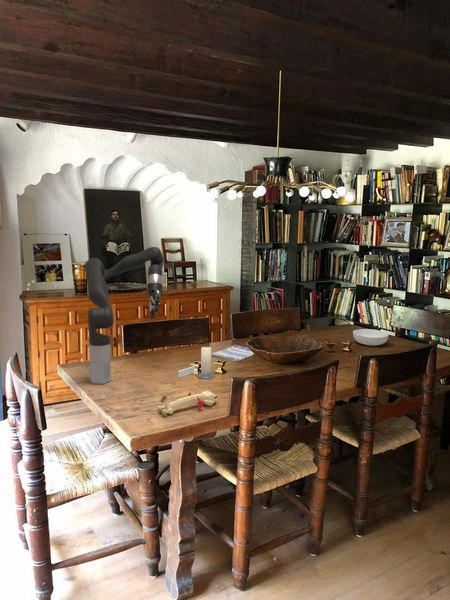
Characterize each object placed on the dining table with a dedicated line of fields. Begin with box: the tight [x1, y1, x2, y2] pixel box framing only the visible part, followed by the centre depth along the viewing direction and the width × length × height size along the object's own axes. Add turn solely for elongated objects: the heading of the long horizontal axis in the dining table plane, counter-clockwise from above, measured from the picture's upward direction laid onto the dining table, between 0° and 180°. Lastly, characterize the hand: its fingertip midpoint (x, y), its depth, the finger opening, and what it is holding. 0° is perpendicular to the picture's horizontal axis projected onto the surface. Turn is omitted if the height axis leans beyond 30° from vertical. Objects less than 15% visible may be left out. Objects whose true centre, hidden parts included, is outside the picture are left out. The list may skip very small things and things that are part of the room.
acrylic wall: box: [177, 365, 201, 378], centre depth 234 cm, size 1×20×3 cm, turn 140°
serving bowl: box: [352, 328, 390, 347], centre depth 296 cm, size 21×21×7 cm
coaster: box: [195, 372, 216, 380], centre depth 230 cm, size 9×9×1 cm
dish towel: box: [211, 344, 255, 362], centre depth 267 cm, size 17×24×3 cm
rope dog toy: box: [157, 390, 218, 418], centre depth 191 cm, size 10×9×25 cm
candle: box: [200, 345, 212, 376], centre depth 229 cm, size 5×5×14 cm
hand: (154, 315), depth 235 cm, fingers open, 8 cm apart
